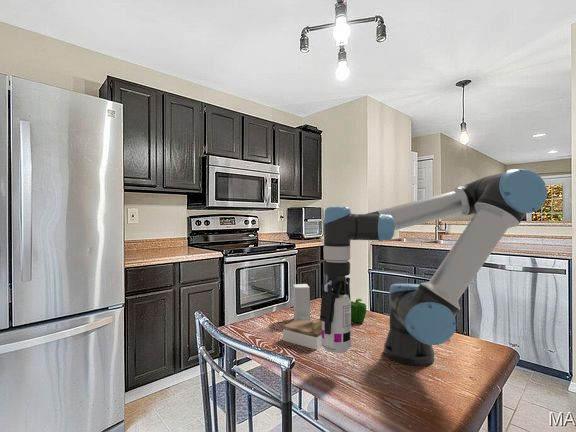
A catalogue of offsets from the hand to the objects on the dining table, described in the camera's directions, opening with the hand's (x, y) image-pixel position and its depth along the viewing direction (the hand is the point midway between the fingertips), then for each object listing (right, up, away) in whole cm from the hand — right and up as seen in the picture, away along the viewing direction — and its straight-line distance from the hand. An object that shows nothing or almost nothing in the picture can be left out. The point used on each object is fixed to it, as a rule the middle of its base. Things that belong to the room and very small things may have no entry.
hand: (336, 339), depth 89 cm
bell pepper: (+16, -10, +45) cm, 49 cm away
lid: (-7, -5, +23) cm, 25 cm away
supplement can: (0, -2, 0) cm, 2 cm away
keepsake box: (-7, -10, +23) cm, 26 cm away
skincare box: (-8, -10, +44) cm, 46 cm away
